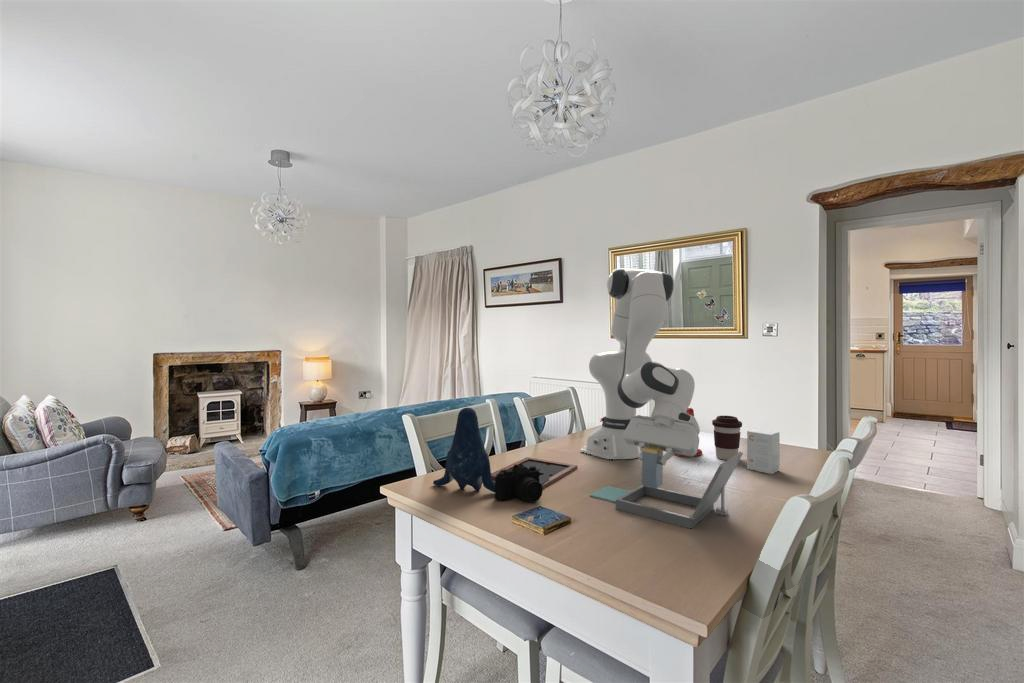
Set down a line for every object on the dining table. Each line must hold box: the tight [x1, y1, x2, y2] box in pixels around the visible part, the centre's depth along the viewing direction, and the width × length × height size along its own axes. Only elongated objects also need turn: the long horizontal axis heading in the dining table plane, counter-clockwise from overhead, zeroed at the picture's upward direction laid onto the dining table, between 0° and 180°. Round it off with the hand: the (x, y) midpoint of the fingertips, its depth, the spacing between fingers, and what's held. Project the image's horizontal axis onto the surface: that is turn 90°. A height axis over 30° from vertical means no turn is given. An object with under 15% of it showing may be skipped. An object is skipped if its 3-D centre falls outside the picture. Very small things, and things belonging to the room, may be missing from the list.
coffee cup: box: [711, 415, 743, 461], centre depth 177 cm, size 10×10×15 cm
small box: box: [746, 428, 781, 475], centre depth 162 cm, size 8×6×13 cm
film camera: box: [494, 463, 544, 503], centre depth 137 cm, size 15×10×9 cm, turn 120°
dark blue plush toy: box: [433, 407, 495, 494], centre depth 143 cm, size 25×11×25 cm, turn 68°
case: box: [615, 451, 744, 529], centre depth 126 cm, size 27×16×16 cm, turn 49°
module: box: [641, 445, 664, 488], centre depth 130 cm, size 4×4×10 cm
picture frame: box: [491, 456, 578, 490], centre depth 160 cm, size 20×2×25 cm
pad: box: [589, 485, 631, 504], centre depth 139 cm, size 10×10×1 cm
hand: (651, 461), depth 130 cm, fingers closed on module, 4 cm apart
